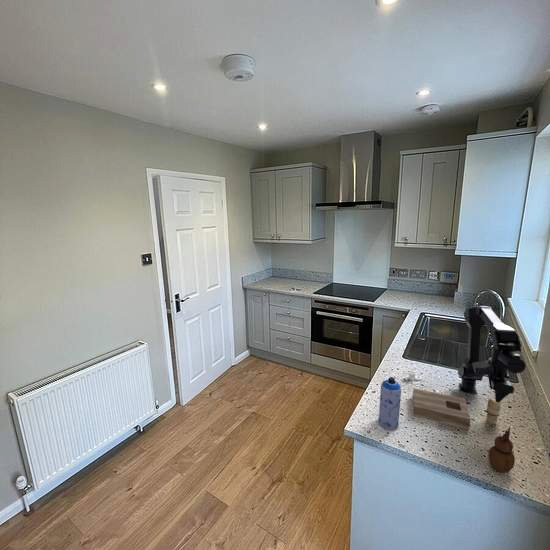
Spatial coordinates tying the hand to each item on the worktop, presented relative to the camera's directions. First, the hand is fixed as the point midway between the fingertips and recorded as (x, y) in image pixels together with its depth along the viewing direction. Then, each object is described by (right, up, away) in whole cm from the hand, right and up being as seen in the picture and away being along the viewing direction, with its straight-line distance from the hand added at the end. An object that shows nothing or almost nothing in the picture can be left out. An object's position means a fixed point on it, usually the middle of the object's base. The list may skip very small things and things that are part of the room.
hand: (494, 395), depth 117 cm
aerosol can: (-42, -12, +2) cm, 43 cm away
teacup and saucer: (-16, -7, +30) cm, 35 cm away
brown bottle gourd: (-13, -16, -20) cm, 29 cm away
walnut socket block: (-18, -10, +8) cm, 22 cm away
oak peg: (+1, -12, +2) cm, 12 cm away
